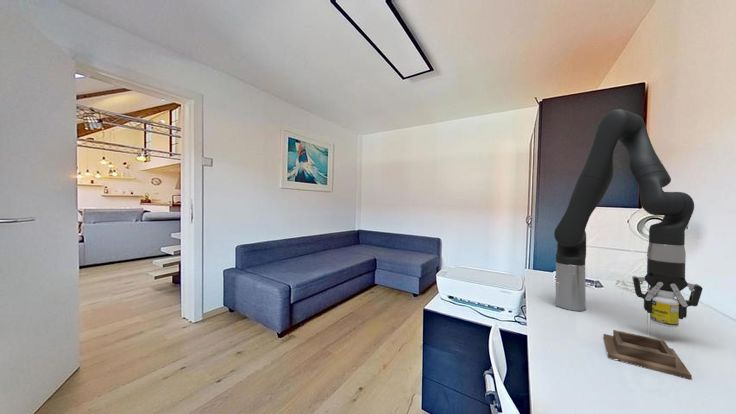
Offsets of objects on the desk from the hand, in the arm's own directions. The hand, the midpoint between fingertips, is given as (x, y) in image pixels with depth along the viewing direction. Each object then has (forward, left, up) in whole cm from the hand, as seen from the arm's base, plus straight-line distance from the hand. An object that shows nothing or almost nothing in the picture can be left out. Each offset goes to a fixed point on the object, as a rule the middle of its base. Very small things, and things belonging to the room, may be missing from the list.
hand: (664, 315), depth 78 cm
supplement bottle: (0, 0, -3) cm, 3 cm away
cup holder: (-7, -17, -7) cm, 19 cm away
